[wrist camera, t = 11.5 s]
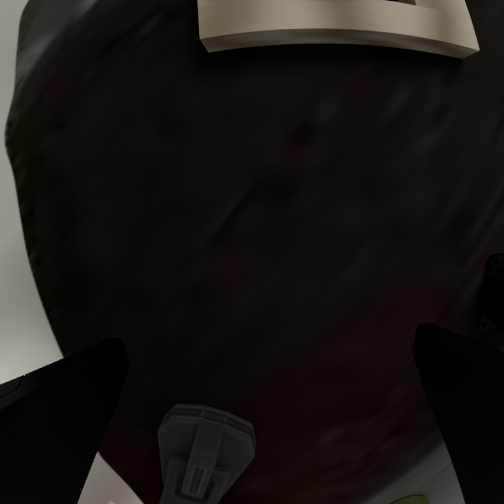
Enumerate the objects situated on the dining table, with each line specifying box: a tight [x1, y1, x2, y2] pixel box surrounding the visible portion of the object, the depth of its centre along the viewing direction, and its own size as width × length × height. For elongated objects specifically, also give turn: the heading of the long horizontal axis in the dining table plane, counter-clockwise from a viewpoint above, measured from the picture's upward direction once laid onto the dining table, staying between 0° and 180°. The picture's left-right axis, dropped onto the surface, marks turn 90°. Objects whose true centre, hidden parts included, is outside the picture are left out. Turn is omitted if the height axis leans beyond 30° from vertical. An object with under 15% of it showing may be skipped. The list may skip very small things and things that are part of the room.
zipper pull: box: [157, 404, 256, 504], centre depth 25 cm, size 9×7×25 cm
